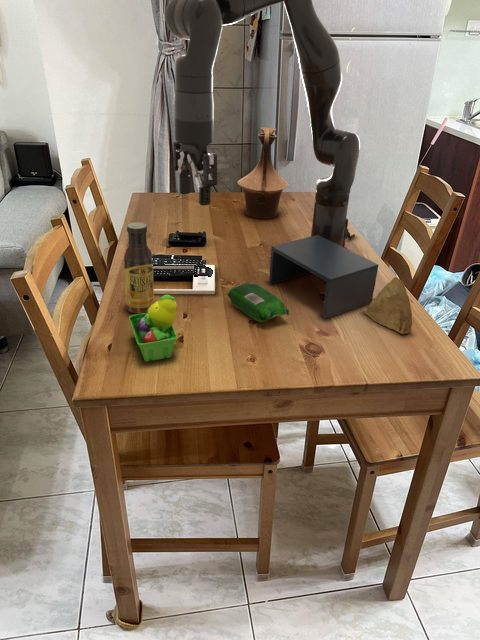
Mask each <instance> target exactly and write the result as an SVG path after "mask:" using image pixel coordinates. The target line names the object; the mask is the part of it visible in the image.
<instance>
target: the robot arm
mask: <svg viewBox="0 0 480 640" xmlns="http://www.w3.org/2000/svg"><path fill="white" fill-rule="evenodd" d="M280 3H283V5H284V8H285V11H286V14H287V18H288V21H289V25H290V28H291V33H292V37H293V41H294V45H295V49H296V54H297V58H298V64H299V71H300V75H301V79H302V80H301V81H302V84H303V89H304V93H305V97H306V102H307V103H306V104H307V108H308V113H309V120H310V121H309V122H310V129H311V139H312V149H313V154H314V156H315V158H316V160H317V161H318V162H319V163H321V164H324V165H326V166H330V167H333V169H332V174H331V176H324V177H321V178H319V179H318V180H317V181H316V188H315V195H314V205H313V215H312V216H313V217H312V224H311V232H310V237H311V236H315V235H319V236H321V237H323V238H325V239H327V240H329V241H331V242H333V243H335V244H337V245H339V246H341V247H344V248H346V247H345V246H346V240H347V239H349V240H351V239H353V238H355V237H356V234H352V235H351V232H349V228H348V226H349V218H348V217H347V215H348V208H349V202H350V196H351V195H350V194H351V189H352V186H353V183H354V181H355V176H356V172H357V167H358V161H359V157H360V151H361V141H360V137H359V136H358V134H356V133H355V132H351V131H348V130H344V129H339V128H336V127H335V124H334V118H333V106H334V103H335V101H336V98H337V96H338V95H339V92H340V89H341V86H342V83H343V74H342V65H341V59H340V58H341V57H340V53H339V48H338V46H337V44H336V43H335V40H334V39H333V37H332V36H331V34H330V33H329V32H328V30H327V29H326V27H325V26H324V24H323V22H322V21H321V19H320V18H319V16H318V14H317V12H316V10H315V7H314V4H313V0H170V1H169V2H168V4H167V5H166V9H165V13H164V18H165V19H164V20H165V24H166V26H167V28H168V30H169V31H170V33H171V34H172V35H173V36H175V37H176V38H179V39H181V40H188V45H187V50H186V53H185V54H183V55H179V56H178V57H177V58H176V60H175V63H174V89H175V91H174V100H173V101H174V102H173V103H174V105H173V109H174V113H173V114H174V140H175V141H173V142H172V143H173V145H172V154H173V155H172V160H173V162H172V165H173V166H172V168H173V171H174V172H176V173H177V176H178V180H179V184H178V185H179V194H180V195H189V194H190V193H191V175H190V174H191V173H192V174H193V176H194V177H195V178H196V180H197V182H198V186H199V187H198V205H200V206H203V207H205V206H209V205H210V204H211V187H214V186H217V185H218V155H217V153H209V150H208V146H209V145H210V144H212V143H213V142H214V124H215V123H214V122H215V120H214V119H215V117H214V116H215V115H214V114H215V103H214V92H213V90H214V65H215V62H216V59H217V58H216V57H217V54H218V49H219V45H220V42H221V41H220V40H221V38H222V33H223V26H229V25H233V24H236V23H238V22H241V21H243V20H244V19H247V18H249V17H252V16H253V15H255V14H257V13H259V12H261V11H264V10H266V9H268V8H271V7H273V6H275V5H278V4H280ZM211 175H212V176H211Z"/></svg>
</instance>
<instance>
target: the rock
mask: <svg viewBox="0 0 480 640" xmlns="http://www.w3.org/2000/svg"><path fill="white" fill-rule="evenodd" d="M412 313H413V312H412V307H411V303H410V297H409V295H408V292H407V289H406V286H405V283H404V281H403V280H402V279H400V278H399V277H395V276H394V277H393V278H392V279H391V280H390V281H389V282H387V284H386V285H385V286H384V287H382V289H381V290H380V291H379V292H378V294H377V295H376V296H375V297H374V298H372V302H371V303H369V305H368V306H367V307H366V310H365V311H364V315H366V316H367V317H369V318H370V319H371V320H372V321H373V322H375V323H377V324H379V325H381V326H384V327H386V328H388V329H390V330H394V331H395V332H397V333H399V334H401V335H406V334H410V333H411V330H412V327H413V318H412V316H413V314H412Z"/></svg>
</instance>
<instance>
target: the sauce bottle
mask: <svg viewBox="0 0 480 640" xmlns="http://www.w3.org/2000/svg"><path fill="white" fill-rule="evenodd" d="M126 232H127V233H128V246H127V248H126V249H125V253H124V255H123V263H124V264H123V265H124V266H123V271H124V272H123V273H124V291H125V304H126V309H127V311H128V312H129V313H132V314H142V313H148V309H149V307H150V306H151V305H152V304H154V303H155V294H154V289H155V288H154V269H153V264H154V262H153V254H152V250H151V249H150V247H149V246H148V242H147V232H148V226H147V224H146V223H144V222H140V221H138V222H136V221H135V222H130V223H128V224H127V225H126Z"/></svg>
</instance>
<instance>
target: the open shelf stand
mask: <svg viewBox="0 0 480 640" xmlns="http://www.w3.org/2000/svg"><path fill="white" fill-rule="evenodd" d="M270 249H271V250H270V261H269V275H268V276H269V277H268V283H269V284H270V285H274V284H278V283H280V282H285V281H287V280H291V279H294V278H297V277H300V276H301V277H302V276H304V275H308V274H312V275H313V276H316V277H318V278H320V279H322V281H324V282H326V283H325V284H326V285H325V292H324V301H323V308H322V316H321V317H322V318H323V319H324V320H327V319H329V318H332V317H335V316H338V315H341V314H343V313H346V312H349V311H351V310H355V309H357V308H360V307H363V306H366V305H368V304H369V305H370V303H371V302H372V300H373V299H374V298H373V297H374V292H375V286H376V281H377V276H378V270H379V263H377V262H374V261H372V260H370V259H368V258H366V257H364V256H362V255H360V254H358V253H356V252H354V251H352V250H350V249H348V248H346V247H341V246H339V245H337V244H335V243H333V242H331V241H329V240H327V239H325V238H323V237H321V236H319V235H315V236H311V235H310V236H308V237H304V238H299V239H295V240H291V241H287V242H283V243H279V244H275V245H271V248H270Z"/></svg>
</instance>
